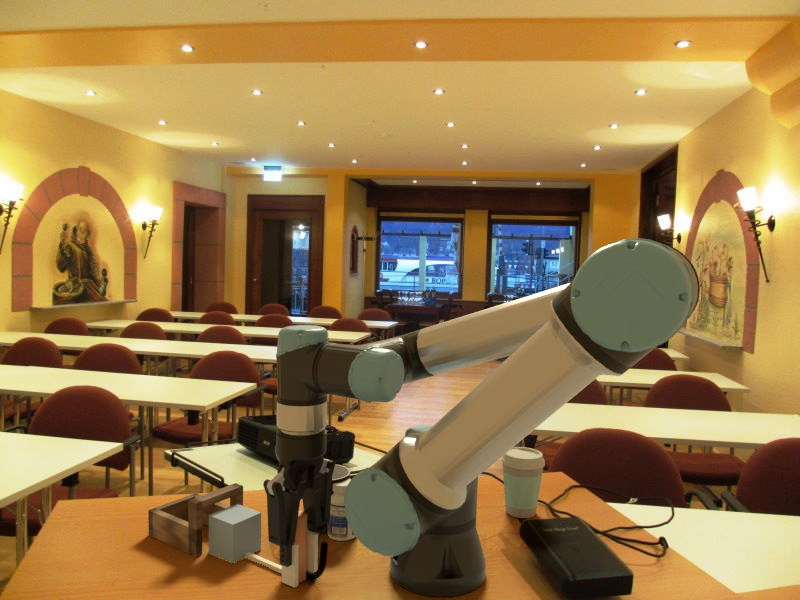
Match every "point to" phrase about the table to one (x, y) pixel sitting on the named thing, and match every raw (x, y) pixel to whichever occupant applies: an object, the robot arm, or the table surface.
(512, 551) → the table surface
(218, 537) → the lopsided dumbbell
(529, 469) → the coffee cup
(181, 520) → the wooden frame
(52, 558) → the table surface
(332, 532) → the pill bottle
